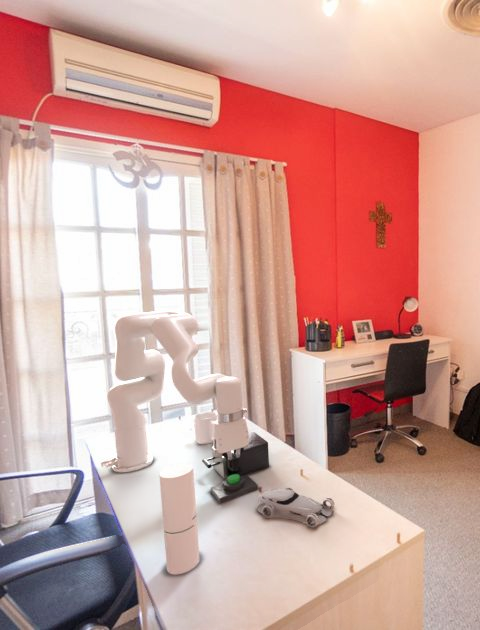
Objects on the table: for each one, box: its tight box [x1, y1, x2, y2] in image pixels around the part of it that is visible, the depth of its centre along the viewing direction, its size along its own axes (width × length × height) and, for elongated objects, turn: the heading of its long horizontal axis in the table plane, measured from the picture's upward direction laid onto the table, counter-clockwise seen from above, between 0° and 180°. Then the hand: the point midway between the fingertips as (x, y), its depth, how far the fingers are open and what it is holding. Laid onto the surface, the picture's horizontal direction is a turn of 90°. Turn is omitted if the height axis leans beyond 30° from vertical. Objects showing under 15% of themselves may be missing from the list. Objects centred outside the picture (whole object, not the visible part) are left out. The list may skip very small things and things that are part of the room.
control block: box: [210, 474, 259, 504], centre depth 138 cm, size 12×9×4 cm
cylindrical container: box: [158, 462, 200, 575], centre depth 103 cm, size 7×7×25 cm
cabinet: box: [225, 431, 270, 479], centre depth 153 cm, size 15×13×10 cm
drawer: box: [201, 446, 227, 480], centre depth 150 cm, size 18×11×8 cm, turn 134°
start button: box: [228, 474, 240, 484], centre depth 138 cm, size 4×4×2 cm
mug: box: [193, 411, 218, 445], centre depth 175 cm, size 12×9×11 cm
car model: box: [256, 487, 336, 528], centre depth 127 cm, size 11×24×5 cm, turn 71°
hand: (233, 468), depth 137 cm, fingers closed
